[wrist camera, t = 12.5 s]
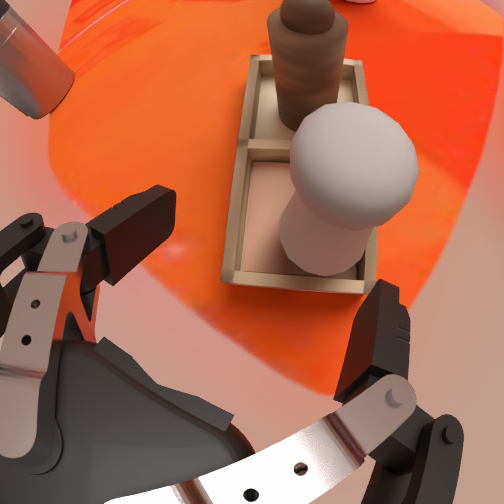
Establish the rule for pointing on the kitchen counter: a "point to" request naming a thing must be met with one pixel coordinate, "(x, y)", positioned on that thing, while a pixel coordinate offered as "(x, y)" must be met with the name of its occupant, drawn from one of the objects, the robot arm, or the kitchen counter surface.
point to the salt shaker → (344, 184)
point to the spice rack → (278, 193)
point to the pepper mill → (306, 57)
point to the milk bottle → (361, 1)
